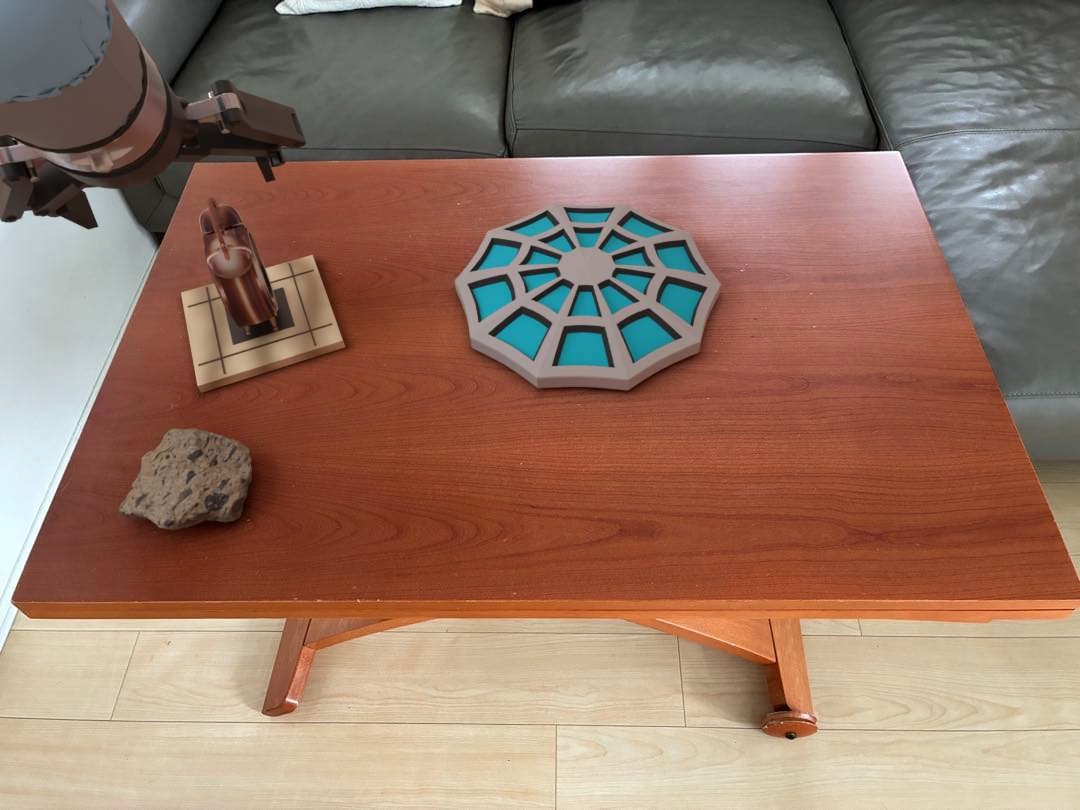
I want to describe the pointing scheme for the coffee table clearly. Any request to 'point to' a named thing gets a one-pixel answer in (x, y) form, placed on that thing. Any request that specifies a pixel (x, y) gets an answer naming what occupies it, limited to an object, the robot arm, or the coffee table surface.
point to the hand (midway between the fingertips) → (178, 187)
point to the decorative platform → (587, 296)
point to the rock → (190, 480)
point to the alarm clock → (237, 266)
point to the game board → (261, 328)
